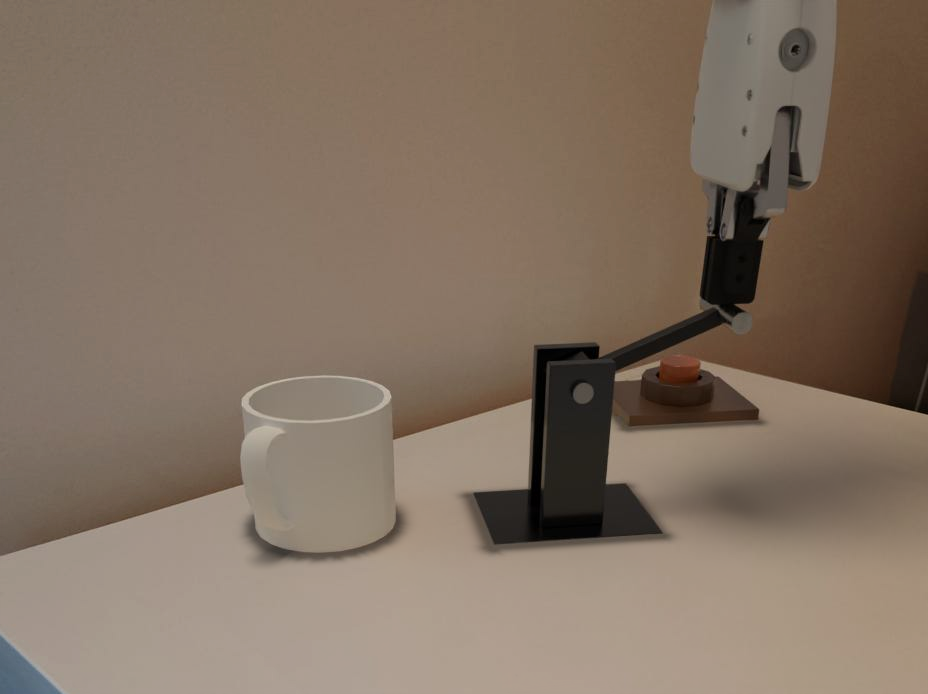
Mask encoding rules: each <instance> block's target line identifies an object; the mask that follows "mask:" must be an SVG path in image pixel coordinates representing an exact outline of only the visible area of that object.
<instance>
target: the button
mask: <svg viewBox="0 0 928 694" xmlns="http://www.w3.org/2000/svg"><path fill="white" fill-rule="evenodd" d="M701 365H702V362H701V361H700V360H699V359H698V358H695V357H692V356H686V355H669V356H664V357H662V358H661V359H660V363H659V366H660V370H659V379H661V380H664V381H668V382H676V383H691V382H696V381H698V380H699V372H700V369H701Z"/></svg>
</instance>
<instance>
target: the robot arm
mask: <svg viewBox="0 0 928 694" xmlns="http://www.w3.org/2000/svg"><path fill="white" fill-rule="evenodd" d="M837 6H838V2H837V0H712V3H711V8H710V14H709V17H708V23H707V28H706V34H705V38H704V45H703V50H702V55H701V62H700V68H699V74H698V80H697V86H696V94H695V95H696V96H695V100H694V107H693V108H694V109H693V115H692V123H691V124H692V125H691V135H690V148H689V164H690V167H691V169H692V170H693V172H694V173H695V174H696V175H697V176H699V177H700V178H701V179H702V183H701V188H702V189H701V190H702V193H703V195H705V197H706V198H707V209H706V210H707V212H706V223H705V229H706V234H707V235H706V239H705V250H704V257H703V265H702V273H701V279H700V286H699V287H700V288H699V297H700V299H701V298H702V299H703V300H705V301H707V302H708V303H709V304H711V305H725V304H735V305H749V304H751V303H753V302H754V301H755V299H756V292H757V287H758V279H759V273H760V267H761V261H762V253H763V248H764V243H765V242H764V241H766V239H767V237H768V234H769V230H770V226H771V221H772V219H773V218H776V217H782V216H784V214H785V213H786V211H787V205H788V193H789V192H788V189H792V190H793V191H794V190H795V191H808V190H809V189H811V188H812V187H813V186H814V185H815V184H816V183H817V181H818V179H819V175H820V170H821V166H822V160H823V153H824V147H825V139H826V133H827V125H828V119H829V111H830V103H831V94H832V87H833V77H834V68H835V57H836V44H837V23H838V22H837V21H838V13H837V11H838V10H837V9H838V7H837ZM758 181H759V184H758Z"/></svg>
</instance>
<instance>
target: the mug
mask: <svg viewBox="0 0 928 694" xmlns="http://www.w3.org/2000/svg"><path fill="white" fill-rule="evenodd" d="M392 399H393V397H392V394H391V391H390V390H389V389H388V388H387V387H385V386H384V385H383V384H380V383H378V382H376V381H373V380H369V379H364V378H360V377H354V376H345V375H323V374H322V375H305V376H297V377H290V378H284V379H279V380H275V381H270V382H267V383H265V384H262V385H259V386H256V387H254V388H253V389H251V390H249V391H247V392H246V393H245V394H244V395H243V396H242V398H241V413H242V414H241V415H242V423H243V431H244V439H243V441H242V442H241V447H240V456H239V460H240V461H239V462H240V472H241V473H240V474H241V479H242V483H243V488H244V493H245V497H246V499H247V502H248V504H249V507H250V510H251V512H252V513H253V516H254V525H255V531H256V532H257V534H258V536H259V537H260V538H261V539H263V540H264V541H266V542H267V543H268V544H271V545H273V546H275V547H279V548H280V549H283V550H288V551H289V550H290V551H295V552H299V553H320V554H321V553H336V552H342V551H346V550H347V551H349V550H353V549H358V548H361V547H364V546H367V545H370V544H373V543H375V542H377V541H379V540H380V539H382V538H384V537H386V536H387V535H388V534H389V533H390V532H391V531H392V530H393V529H394V527H395V524H396V521H397V514H396V513H397V509H396V483H395V481H396V480H395V457H394V456H395V455H394V427H393V426H394V425H393V424H394V423H393V401H392Z"/></svg>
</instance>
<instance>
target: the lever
mask: <svg viewBox="0 0 928 694" xmlns="http://www.w3.org/2000/svg"><path fill="white" fill-rule="evenodd" d="M698 304H699V308H700V310H701V312H699V313H696V314H694V315H692V316H690V317H688V318H686V319H684V320H681V321H678V322H675V323H674V324H672V325H669V326H668V327H664V328H663V329H661V330H658V331H656V332H653V333H652V334H649V335H647V336H645V337H643V338H641V339H640V338H639V339H638V340H636V341H634V342H632V343H629V344H627V345H625V346H622V347H620V348H617V349H615V350H613V351H611V352H608V353H606V354H604V355H602V356H599V358H597V359H613V360H614V361H615V362H616V370H615V372H618V371H620V370H622V369H624V368H626V367H630V366H631V365H633V364H636V363H638V362H640V361H642V360H643V361H644V360H645V359H647V358H649V357H652V356H654V355H656V354H658V353H661V352H662V351H663V352H664V351H665V350H667V349H669V348H672V347H674V346H676V345H679V344H681V343H684V342H686V341H689V340H691V339H692V338H694V337H697V336H699V335H701V334H704V333H705V332H708V331H710V330H713V329H716V328H717V327H720V326H724V327H725V328H727V329H728V330H729V331H731V332H733V333H734V334H735V335H739V336H742V335H745V334H747V333H749V332H750V331H751V329H752V327H753V326H754V318H753V315H752V314H751V313H750V312H748V311H746V310H745V309H743V308H741V307H740V306H738V305H737V304H725V305H711V304H709V303H708V302H707V301H705V300H703V299H702V298H701V297H700V299H699V303H698ZM571 360H590V359H589V358H588V357H587V356H586V355H585V354H584V353H583V352H579V353H577V354H575V355H573V356H570V357H568V358H566V359H563V360H561V361H571ZM545 372H546V374H547V367H545Z"/></svg>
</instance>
